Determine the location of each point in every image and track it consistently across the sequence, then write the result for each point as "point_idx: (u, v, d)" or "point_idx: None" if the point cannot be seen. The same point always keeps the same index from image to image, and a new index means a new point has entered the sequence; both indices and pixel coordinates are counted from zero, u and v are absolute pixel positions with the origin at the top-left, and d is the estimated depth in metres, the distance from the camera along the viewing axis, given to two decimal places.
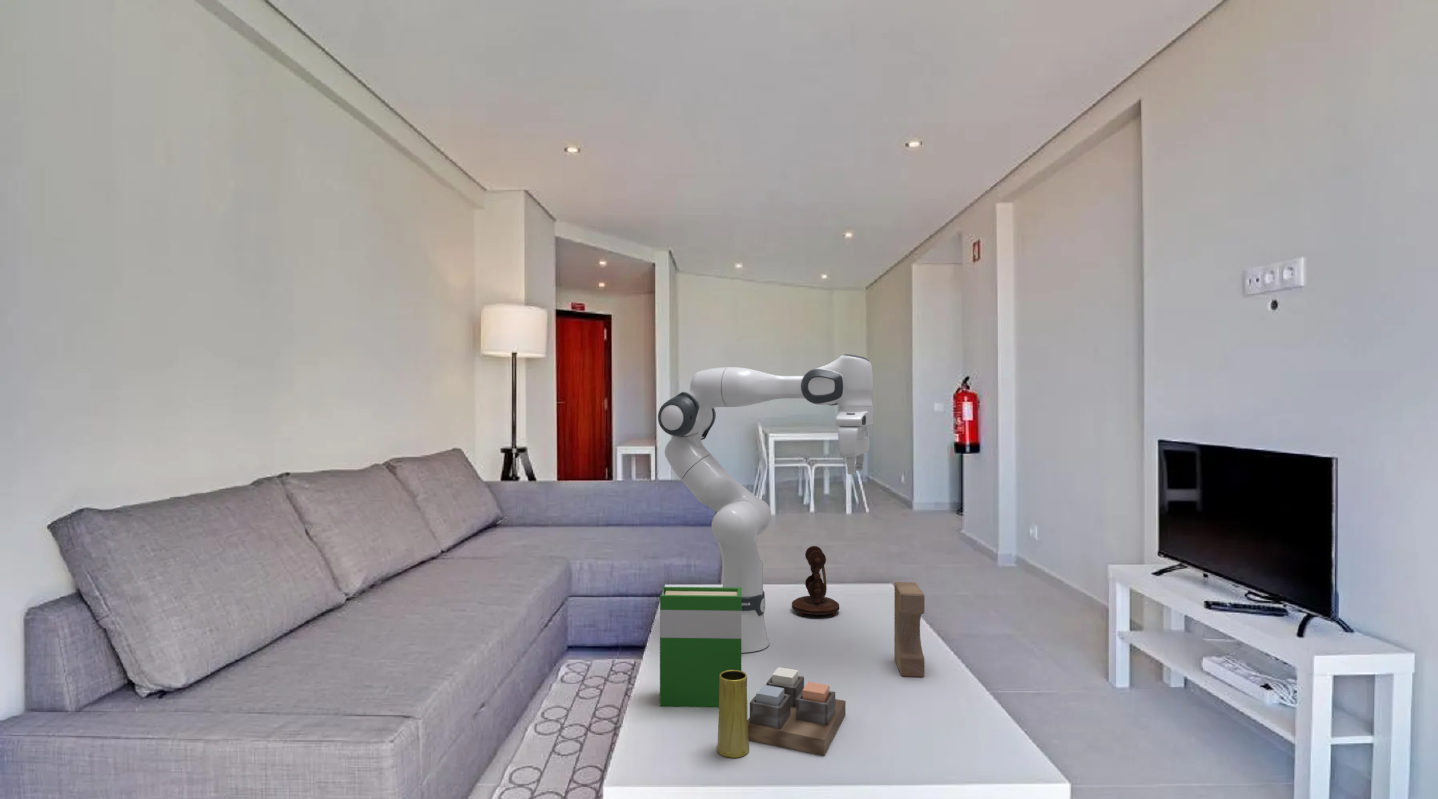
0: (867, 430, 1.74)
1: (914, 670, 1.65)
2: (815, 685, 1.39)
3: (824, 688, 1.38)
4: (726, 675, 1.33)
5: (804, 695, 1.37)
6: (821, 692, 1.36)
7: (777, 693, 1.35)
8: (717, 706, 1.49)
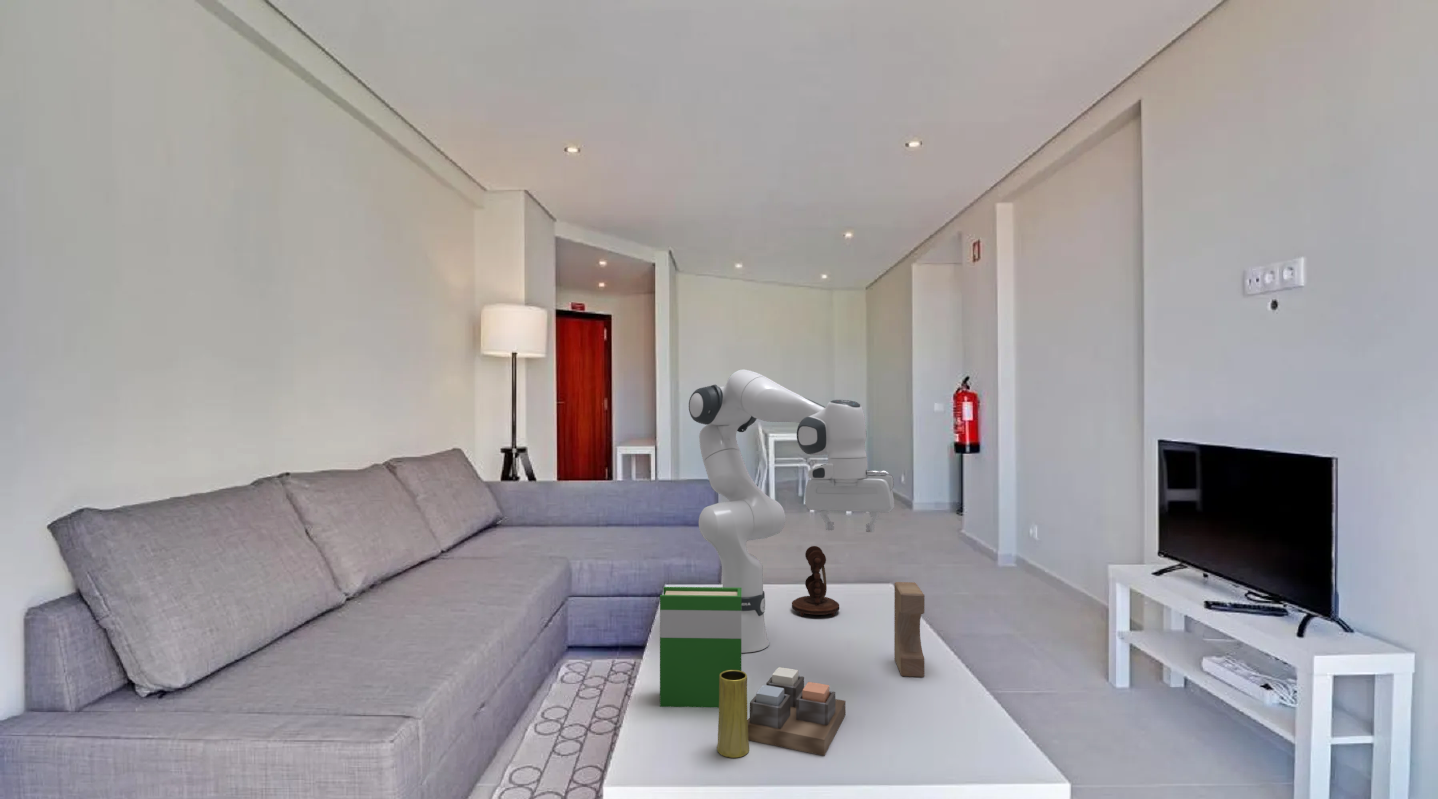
0: (842, 485, 1.55)
1: (914, 670, 1.65)
2: (815, 685, 1.39)
3: (824, 688, 1.38)
4: (726, 675, 1.33)
5: (804, 695, 1.37)
6: (821, 692, 1.36)
7: (777, 693, 1.35)
8: (717, 706, 1.49)
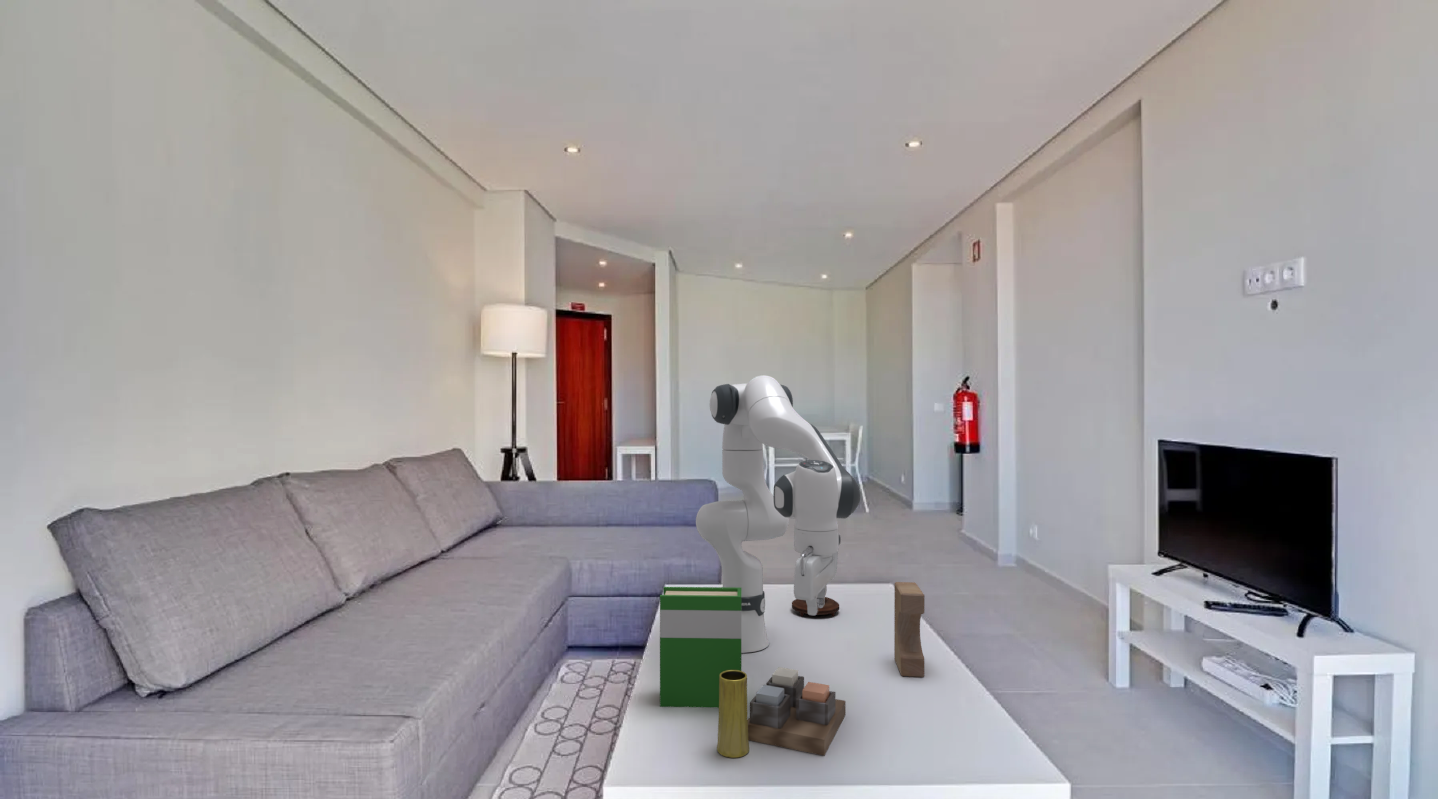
0: None
1: (914, 670, 1.65)
2: (815, 685, 1.39)
3: (824, 688, 1.38)
4: (726, 675, 1.33)
5: (804, 695, 1.37)
6: (821, 692, 1.36)
7: (777, 693, 1.35)
8: (717, 706, 1.49)
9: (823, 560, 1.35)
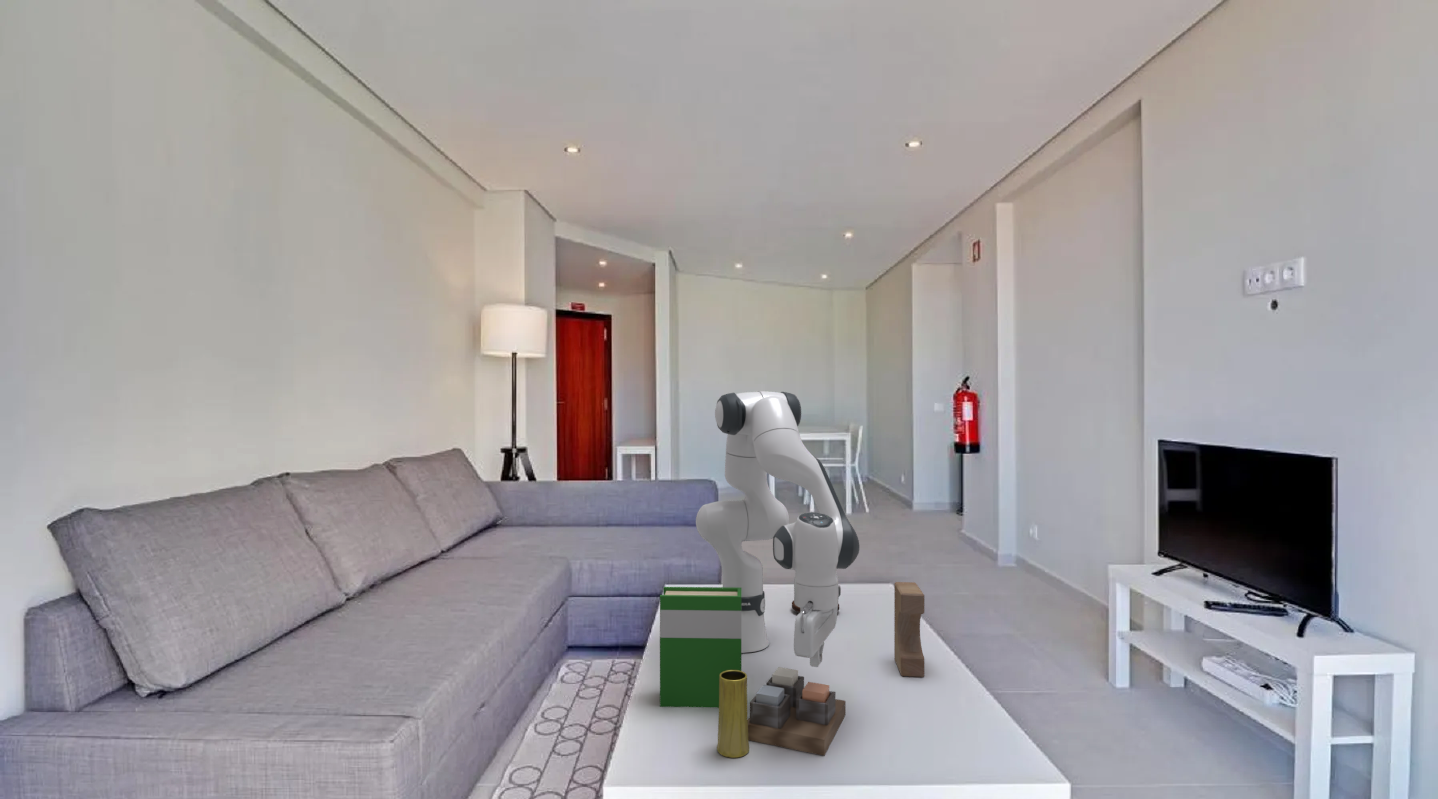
0: None
1: (914, 670, 1.65)
2: (815, 685, 1.39)
3: (824, 688, 1.38)
4: (726, 675, 1.33)
5: (804, 695, 1.37)
6: (821, 692, 1.36)
7: (777, 693, 1.35)
8: (717, 706, 1.49)
9: (823, 615, 1.35)
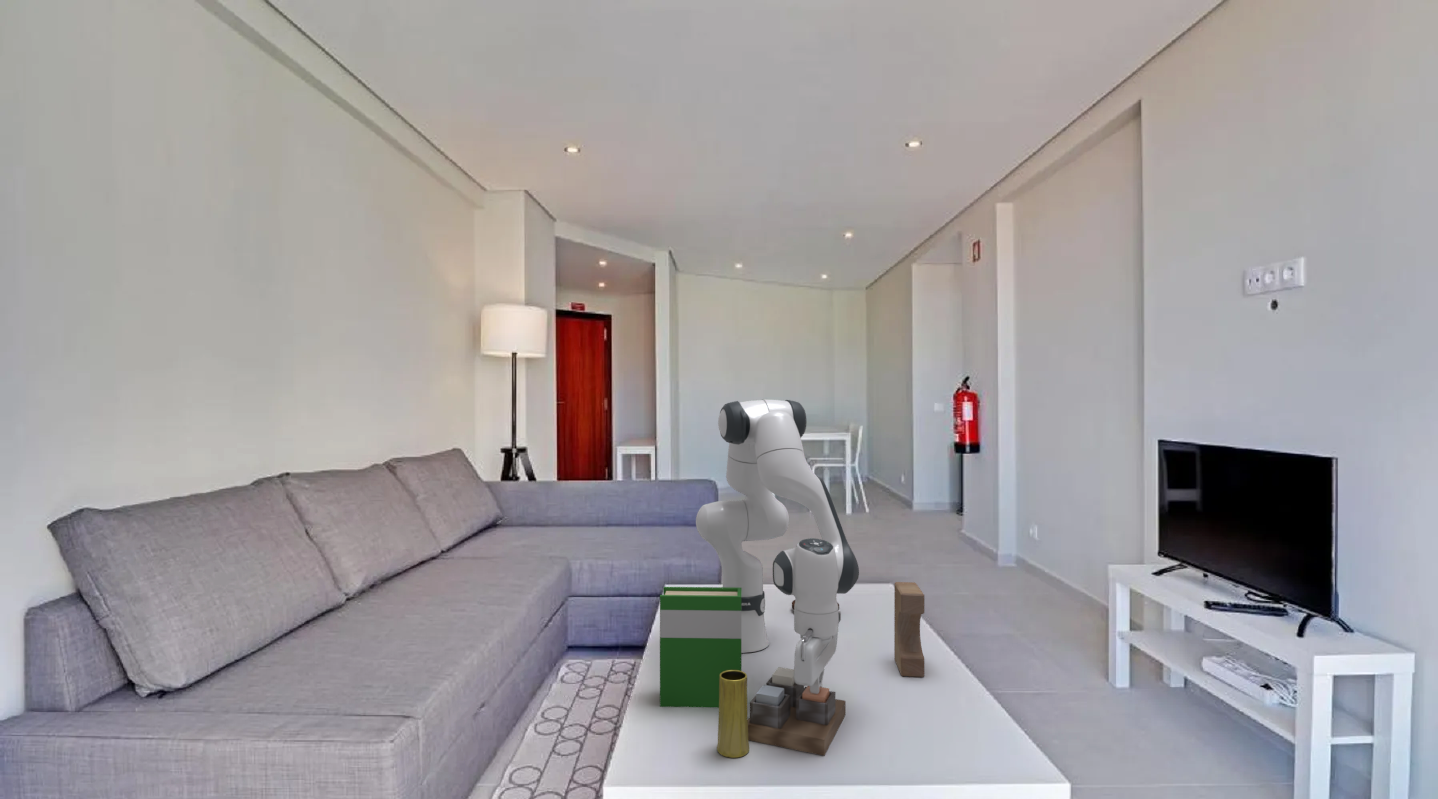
0: None
1: (914, 670, 1.65)
2: None
3: (824, 691, 1.38)
4: (726, 675, 1.33)
5: (804, 698, 1.37)
6: (821, 696, 1.36)
7: (777, 693, 1.35)
8: (717, 706, 1.49)
9: (823, 642, 1.35)
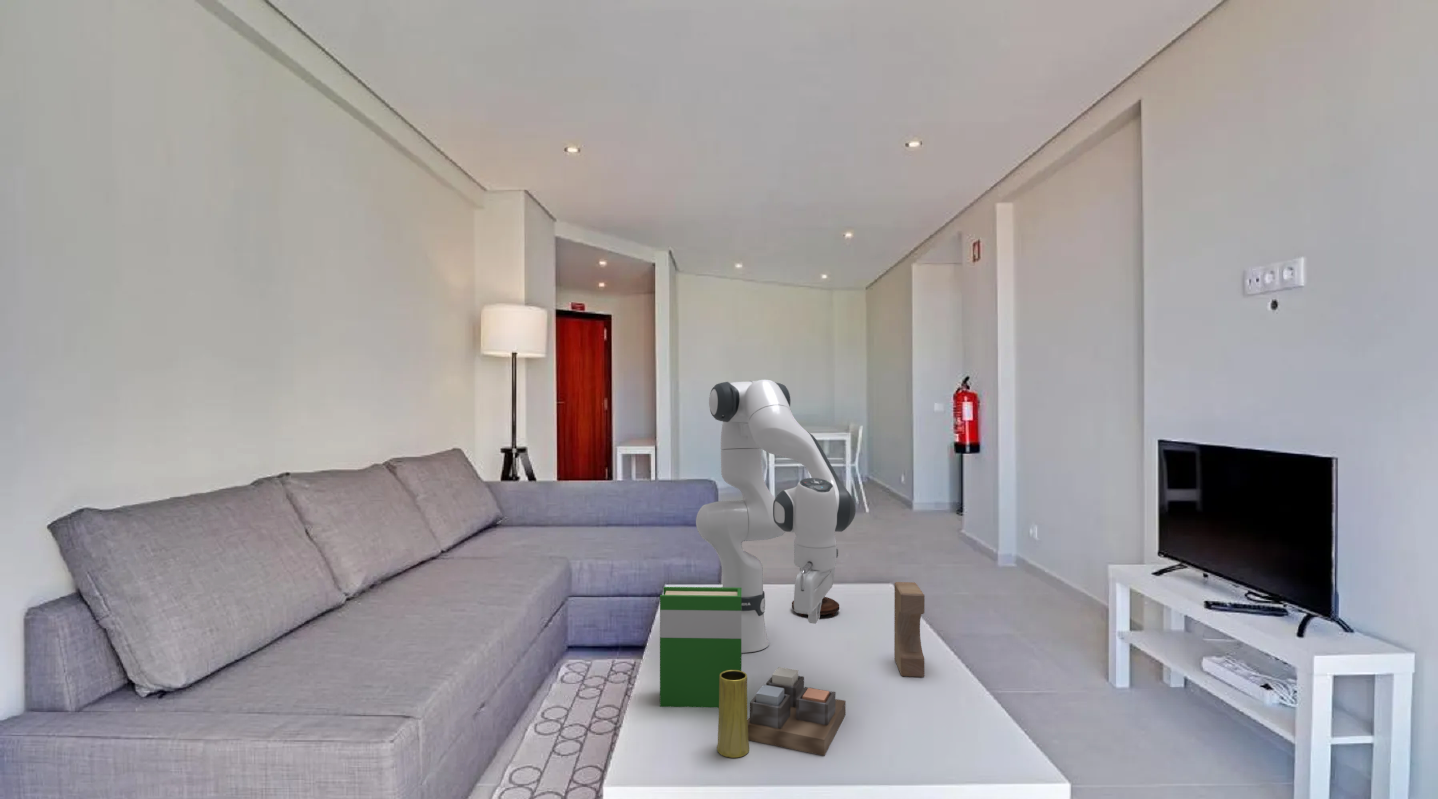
0: None
1: (914, 670, 1.65)
2: (815, 691, 1.39)
3: (824, 694, 1.38)
4: (726, 675, 1.33)
5: None
6: (821, 698, 1.36)
7: (777, 693, 1.35)
8: (717, 706, 1.49)
9: (821, 574, 1.42)
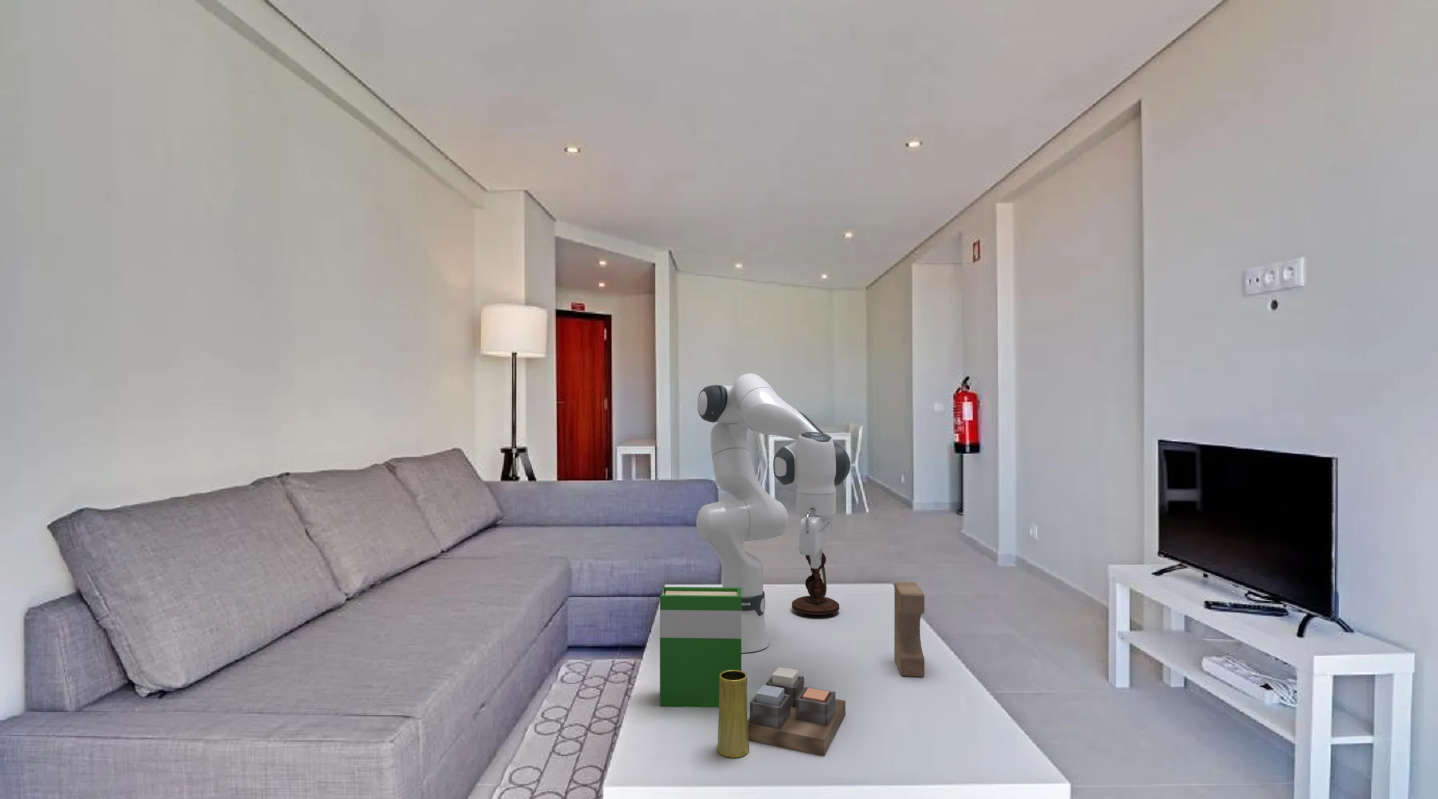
0: None
1: (914, 670, 1.65)
2: (815, 691, 1.39)
3: (824, 694, 1.38)
4: (726, 675, 1.33)
5: None
6: (821, 698, 1.36)
7: (777, 693, 1.35)
8: (717, 706, 1.49)
9: (823, 521, 1.51)
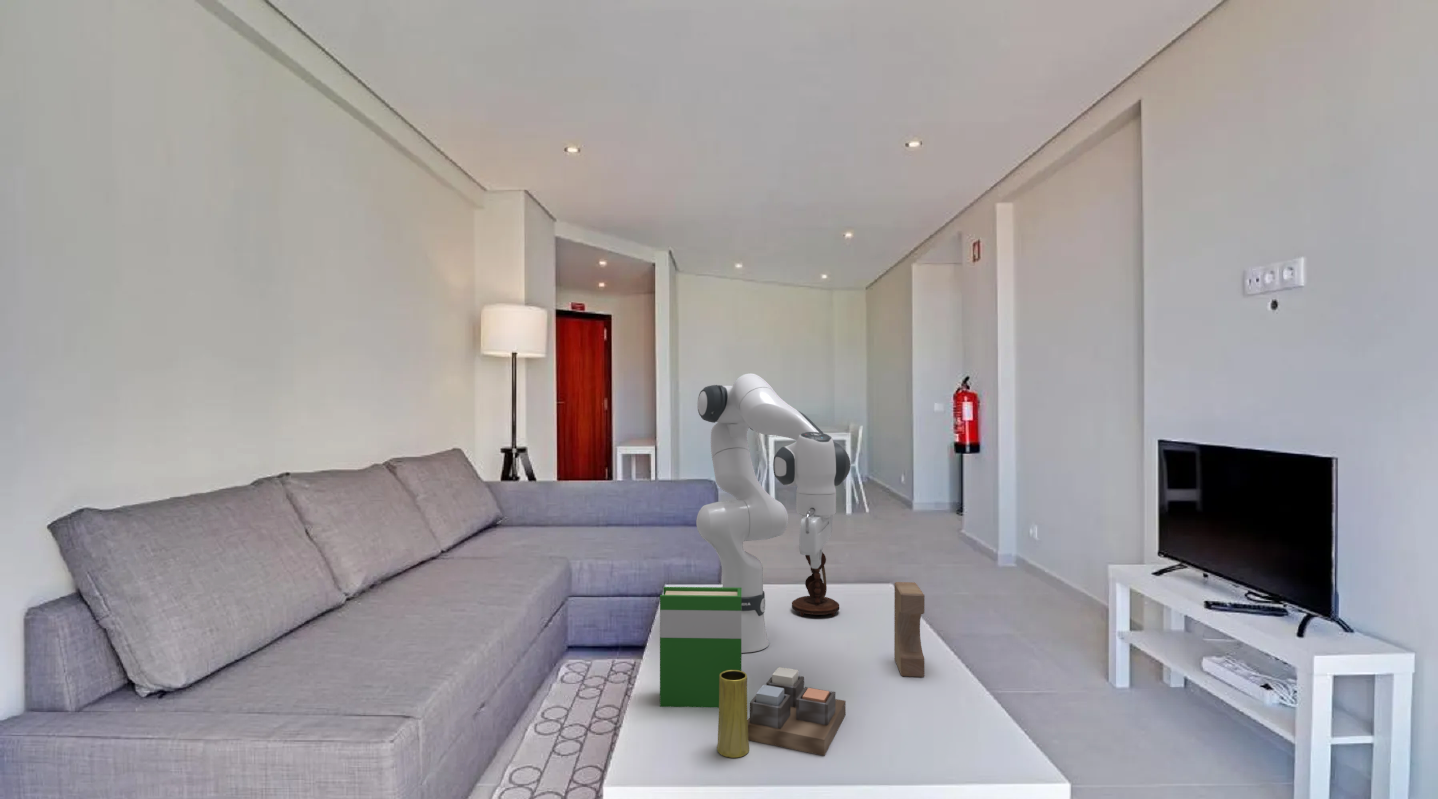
0: None
1: (914, 670, 1.65)
2: (815, 691, 1.39)
3: (824, 694, 1.38)
4: (726, 675, 1.33)
5: None
6: (821, 698, 1.36)
7: (777, 693, 1.35)
8: (717, 706, 1.49)
9: (823, 521, 1.51)
